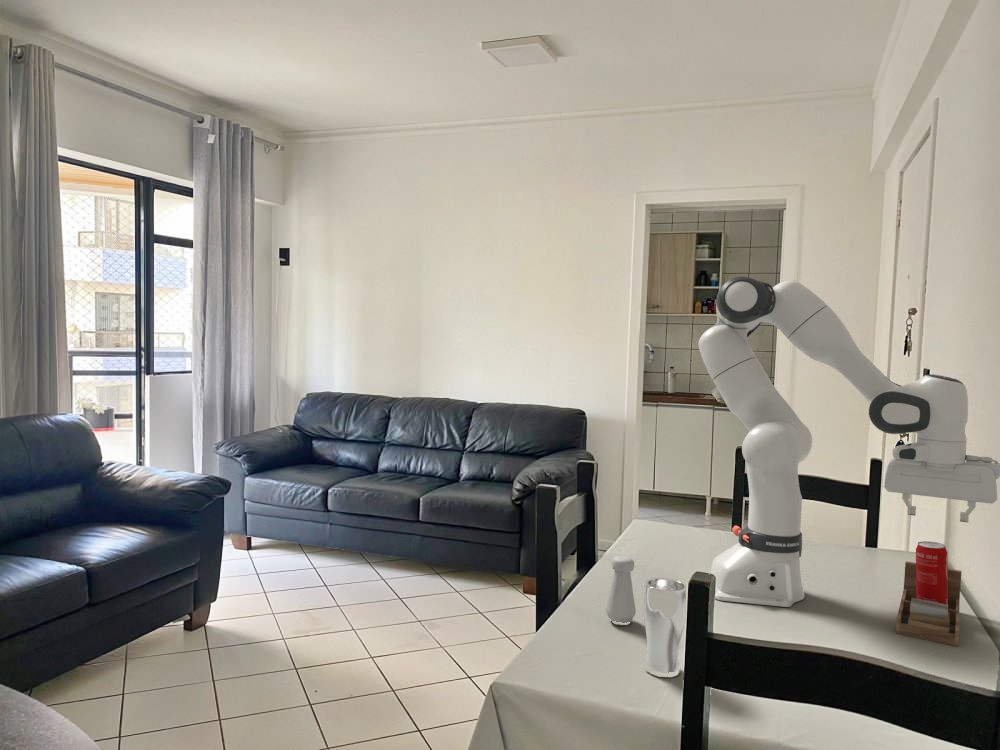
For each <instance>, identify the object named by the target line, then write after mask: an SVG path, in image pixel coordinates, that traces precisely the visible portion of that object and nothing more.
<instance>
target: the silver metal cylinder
mask: <svg viewBox="0 0 1000 750" xmlns="http://www.w3.org/2000/svg"><path fill="white" fill-rule="evenodd" d="M949 617H950V613H948V605H946V604H941V603H936V602H931V601H926V600H920V599H915V598H912V599H911V604H910V615H909V616H908V623H907V624H910V625H914V626H919V627H924V628H928V629H933V630H938V631H942V632H947V633H950V626H951V625H950V621H949Z"/></svg>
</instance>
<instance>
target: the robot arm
mask: <svg viewBox="0 0 1000 750" xmlns="http://www.w3.org/2000/svg"><path fill="white" fill-rule="evenodd" d="M715 300H716V303H715V311H716V313H715V314H716V319H717V320H716V321H717V322H716V323H715V324H714V325H713V326H712V327H710V328H708V329H707V330H706V331H704V332H703V334H702V335H701V336H700V338H699V339H698V350H699V353H700V356H701V358H702V361H703V364H704V366H705V368H706V370H707V373H708V375H709V376H710V378H711V380H712V381H713V384H714V385H715V387H716V389H717V391H718V393H719V394H720V396H721V399H723V401H724V403H725V405H726V407H727V408H728V410H729V411H730V413H732V414H733V415H734V416H735V417H737V419H738V420H739V421H740V422H741V423H742V424H743V426H745V428H746V429H747V431H748V433H747V434H746V436H745V438H744V439H743V441H742V443H741V452H742V456H743V460H745V465H746V466H745V468H746V475H747V481H748V494H749V497H748V499H749V500H748V517H747V519H748V520H747V525H746V526H745V527H744V528H741V527H740V526H738V525H734V526H733V527H732V529H731V532H732V534H733V535H734V536H737V537H738V542H737V543H736V544H733V546H731V547H729V548H727V549H726V550H725V551H723V552H721V553H720V554H718V555H716V556H715V557H714V559H713V561H712V563H711V566H710V571H709V574H710V573H712V574H714V575H715V576H716V578H717V582H716V597H715V598H714V599H715V600H718V601H724V602H731V603H732V602H733V603H734V602H735V603H742V604H743V603H744V604H750V605H751V604H754V605H762V606H763V605H764V606H773V607H782V608H790V607H792V605H793V604H795V603H797V602H799V601H802V600H803V599H805V591H804V586H803V581H802V574H801V564H800V563H801V561H800V558H801V557H802V550H803V533H802V532H801V527H802V526H801V525H802V509H803V508H802V507H803V496H802V494H801V490H800V482H799V464H800V463H801V462H802V461H804V460H805V459H807V457H808V456H809V454H810V452H811V449H812V446H813V437H812V433H811V431H810V429H809V428H808V427H807V425H806V424H804V422H803V421H801V418H799V416H798V415H797V414H796V412H795V411H794V410H793V408H792V407H791V406H790V405H789V403H788V402H787V401H786V400H785V399H784V397H783V396H782V395H781V394H780V392H779V391H778V390H777V388H776V387H775V386H774V384H773V382H772V381H771V379H770V377H769V376H768V373H767V372H766V371H765V369H764V367H763V365H762V364H761V361H759V359H758V357H757V355H756V354H755V353H754V350H753V349H752V347H751V346H750V343H749V341H748V337H750V335H751V334H753V332H755V331H756V330H757V329H758V328H759V327H760V326H761V324H762V323H766V324H770V325H772V326H774V327H776V328H777V329H778V330H779V331H780V332H781V333H782V334H783V336H785V337H786V339H787V340H788V341H789V342H791V344H793V346H794V347H796V348H797V349H798V350H799V351H801V352H802V353H803V354H804V355H806V356H807V357H809V358H810V359H812V360H813V361H816V362H819V363H822V364H824V365H827V366H829V367H830V368H832V369H835V371H837V372H838V373H840V374H841V375H842V376H844V378H845V379H846V380H847V381H849V383H850V384H851V385H852V386H854V388H855V389H856V390H857V391H858V392H860V394H861V395H863V397H864V398H865V400H867V403H868V404H869V406H868V407H869V408H868V417H869V420H870V422H871V423H872V425H873V426H875V428H876V429H878V430H879V431H881V432H883V433H885V434H890V435H902V434H907V433H909V434H910V433H916V434H917V435H916V442H911V443H906V444H900V445H897V446H895V447H894V448H893V449H892V458H891V460H890V461H889V462H888V465H887V467H886V471H885V476H884V482H883V483H884V484H883V487H884V489H885V490H886V491H887V492H888V493H895V494H896V493H897V494H902V497H901V498H902V500H903V502H904V504H905V506H906V507H907V515H908V516H912V517H913V516H914V517H915V516H916V514H917V512H916V511H917V506H916V505H912V503H911V502H910V499H911V495H914V496H922V497H930V498H932V497H933V498H939V499H948V500H957V501H965V502H966V501H967V506H968V508H967V509H966V510H965V512H962V511H960V512H959V514H960V515H959V522H961V523H965V524H967V523H968V524H969V515H970V514H971V513H972V512H973V511H974V510H975V509H976V505H977V503H983V504H989V505H990V504H991V505H992V504H994V503H995V502H997V500H998V486H997V479H999V478H1000V462H998V461H997V460H996V459H993V458H992V457H991V456H977V455H970V454H966V453H967V441H968V440H967V436H966V426H967V425H966V424H968V420H969V419H968V418H969V396H968V390H967V387H966V385H965V384H964V383H963V382H962V381H960V380H959V379H957V378H953V377H950V376H945V375H940V374H938V375H937V374H925V375H924V376H922V377H921V378H919V379H917V380H915V381H912V382H910V383H906V384H904V385H900V384H898V383H895V382H893V381H892V380H890V379H889V378H888V376H886V375H885V374H884V373H883V372H882V371H881V370H880V369H878V367H877V366H876V365H875V364H873V363H872V361H871V360H870V359H869V358H868V357H866V356H865V355H864V353H863V352H862V351H861V350H860V348H859V347H858V346H857V344H856V343H855V340H854V339H853V337H852V335H851V333H850V332H849V330H848V329H847V328H846V326H845V324H844V323H843V321H842V320H841V319H840V318H839V316H838V315H837V314H836V313H835V311H834V310H833V309H832V308H831V307H830V306H829V305H828V304H827V303H826V302H824V301H823V300H822V298H820V297H819V296H818V295H817V294H816V293H814V292H813V291H812V290H811V289H810V288H807V286H806V285H804V284H802V283H800V282H798V281H796V280H792V279H788V280H785V281H781V282H779V283H777V284H776V285H774V286H773V285H772V284H771V283H768V282H764V281H762V280H761V281H760V280H757V279H754V278H753V277H752V278H751V277H749V276H748V277H747V276H736V277H733V278H731V279H729V280H727V281H726V282H724V283H723V284H722V286H720V288H719V290H718V292H717V295H716V299H715Z"/></svg>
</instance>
